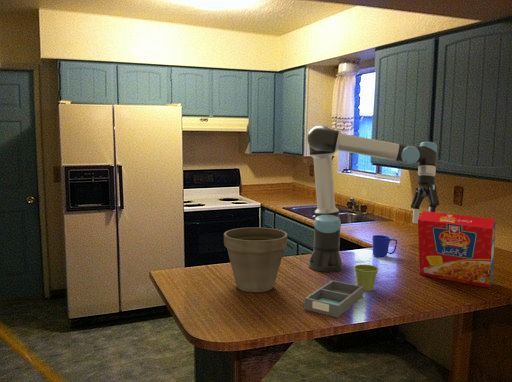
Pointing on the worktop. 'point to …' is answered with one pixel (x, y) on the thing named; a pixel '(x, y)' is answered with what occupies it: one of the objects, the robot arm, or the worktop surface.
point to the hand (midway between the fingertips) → (423, 222)
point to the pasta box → (456, 247)
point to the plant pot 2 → (366, 276)
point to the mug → (382, 245)
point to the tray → (333, 298)
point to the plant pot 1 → (255, 256)
